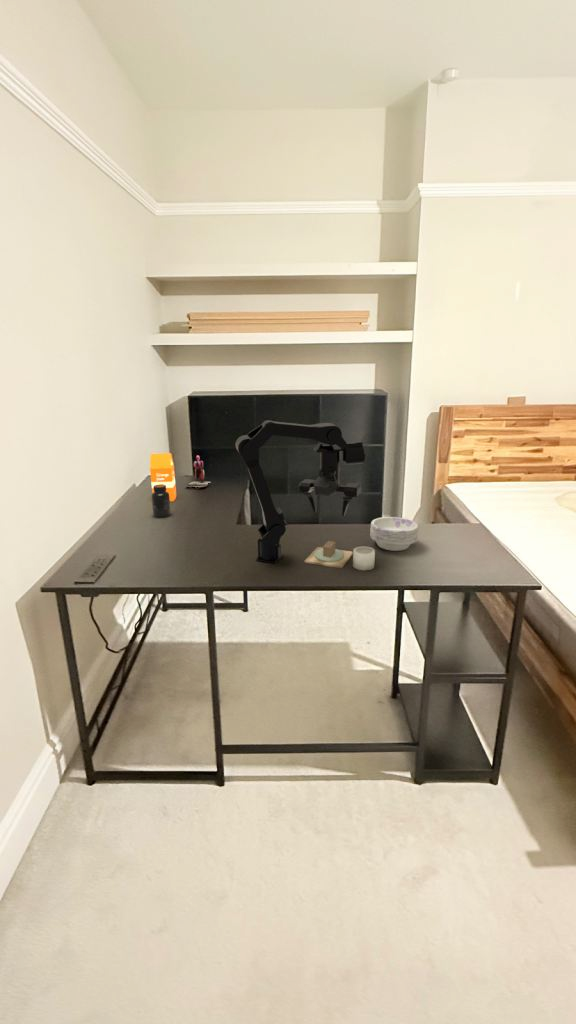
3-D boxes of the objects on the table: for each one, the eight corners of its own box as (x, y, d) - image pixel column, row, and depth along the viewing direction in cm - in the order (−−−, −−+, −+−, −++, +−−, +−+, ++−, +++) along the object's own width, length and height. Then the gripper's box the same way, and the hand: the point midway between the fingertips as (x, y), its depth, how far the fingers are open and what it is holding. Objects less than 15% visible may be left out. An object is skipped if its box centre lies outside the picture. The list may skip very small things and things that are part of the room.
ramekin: (350, 568, 157) (350, 552, 155) (356, 560, 162) (356, 545, 161) (371, 571, 154) (372, 555, 153) (376, 563, 160) (377, 548, 159)
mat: (304, 562, 161) (304, 560, 161) (317, 548, 172) (317, 546, 172) (342, 568, 157) (342, 566, 157) (353, 553, 167) (353, 551, 167)
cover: (310, 559, 162) (310, 547, 161) (320, 549, 170) (320, 537, 169) (338, 563, 159) (339, 551, 157) (347, 552, 167) (347, 541, 165)
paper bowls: (418, 540, 178) (420, 517, 175) (414, 557, 164) (416, 533, 162) (373, 535, 182) (374, 514, 180) (366, 552, 169) (367, 528, 166)
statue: (192, 485, 252) (191, 454, 249) (211, 486, 250) (210, 454, 247) (184, 489, 241) (182, 456, 238) (203, 489, 240) (202, 456, 237)
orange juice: (156, 496, 231) (152, 451, 225) (176, 495, 232) (172, 451, 225) (153, 501, 224) (148, 455, 217) (174, 501, 224) (170, 455, 218)
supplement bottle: (149, 517, 205) (146, 487, 201) (159, 511, 211) (156, 482, 207) (165, 518, 203) (162, 488, 199) (174, 513, 209) (171, 484, 205)
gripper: (291, 469, 156) (291, 518, 161) (352, 474, 149) (351, 526, 154) (304, 461, 166) (304, 508, 170) (362, 465, 159) (360, 514, 164)
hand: (329, 514), depth 164 cm, fingers open, 9 cm apart
